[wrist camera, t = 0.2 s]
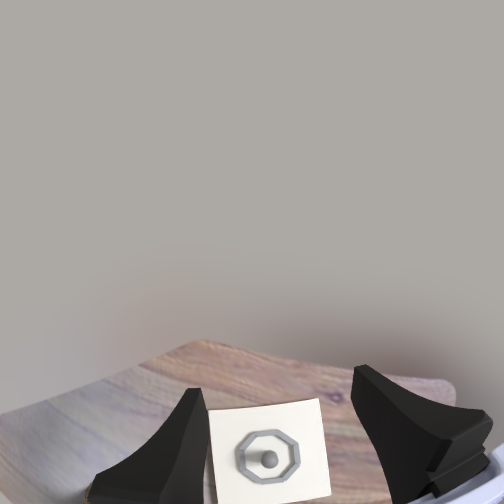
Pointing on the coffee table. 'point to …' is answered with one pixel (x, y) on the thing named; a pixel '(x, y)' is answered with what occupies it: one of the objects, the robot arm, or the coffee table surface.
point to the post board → (269, 419)
